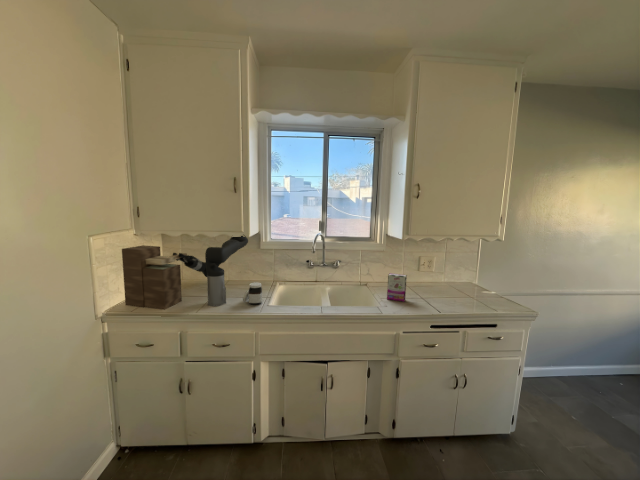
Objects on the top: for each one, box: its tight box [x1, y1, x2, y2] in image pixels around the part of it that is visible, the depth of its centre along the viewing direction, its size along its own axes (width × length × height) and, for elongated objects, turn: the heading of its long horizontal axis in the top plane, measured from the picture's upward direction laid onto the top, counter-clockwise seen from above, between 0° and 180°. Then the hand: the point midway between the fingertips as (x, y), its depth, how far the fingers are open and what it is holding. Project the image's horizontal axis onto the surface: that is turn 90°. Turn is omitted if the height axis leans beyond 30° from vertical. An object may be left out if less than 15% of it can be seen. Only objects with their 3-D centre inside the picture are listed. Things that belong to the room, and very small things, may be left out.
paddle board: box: [145, 252, 188, 265], centre depth 155 cm, size 24×10×2 cm, turn 168°
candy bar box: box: [386, 273, 408, 303], centre depth 169 cm, size 11×5×16 cm, turn 68°
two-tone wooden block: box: [121, 244, 183, 310], centre depth 150 cm, size 14×25×32 cm, turn 78°
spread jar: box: [242, 281, 263, 306], centre depth 157 cm, size 12×11×12 cm
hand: (176, 254), depth 159 cm, fingers closed on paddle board, 3 cm apart
